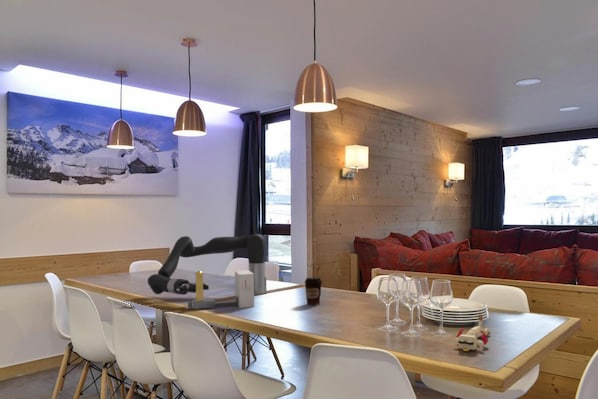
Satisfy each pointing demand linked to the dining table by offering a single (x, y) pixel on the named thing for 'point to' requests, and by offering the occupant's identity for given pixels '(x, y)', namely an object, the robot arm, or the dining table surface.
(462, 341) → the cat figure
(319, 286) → the coffee cup
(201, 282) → the gold sphere topped award
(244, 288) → the cabinet
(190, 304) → the rail
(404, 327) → the dining table surface
